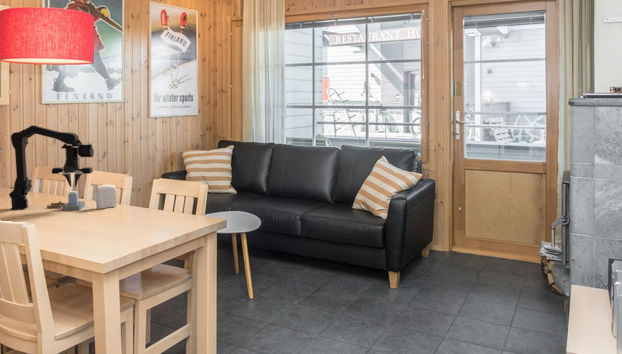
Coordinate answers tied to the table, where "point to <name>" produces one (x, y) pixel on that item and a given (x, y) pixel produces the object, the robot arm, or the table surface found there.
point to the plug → (73, 198)
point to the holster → (56, 205)
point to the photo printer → (105, 196)
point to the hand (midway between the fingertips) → (73, 186)
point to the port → (73, 206)
